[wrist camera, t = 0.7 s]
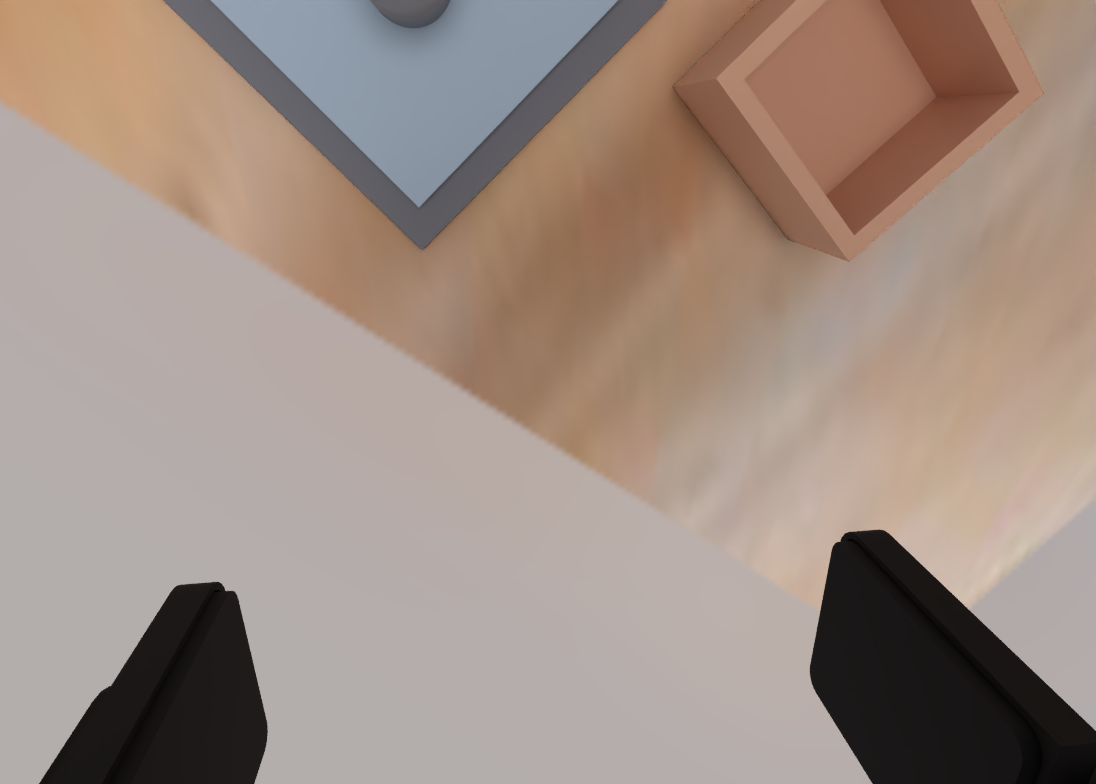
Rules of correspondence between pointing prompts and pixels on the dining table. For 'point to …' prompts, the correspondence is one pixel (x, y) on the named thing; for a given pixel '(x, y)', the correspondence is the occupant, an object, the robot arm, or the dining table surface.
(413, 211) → the mat
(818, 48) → the open cube shelf
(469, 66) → the lid
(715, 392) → the dining table surface
